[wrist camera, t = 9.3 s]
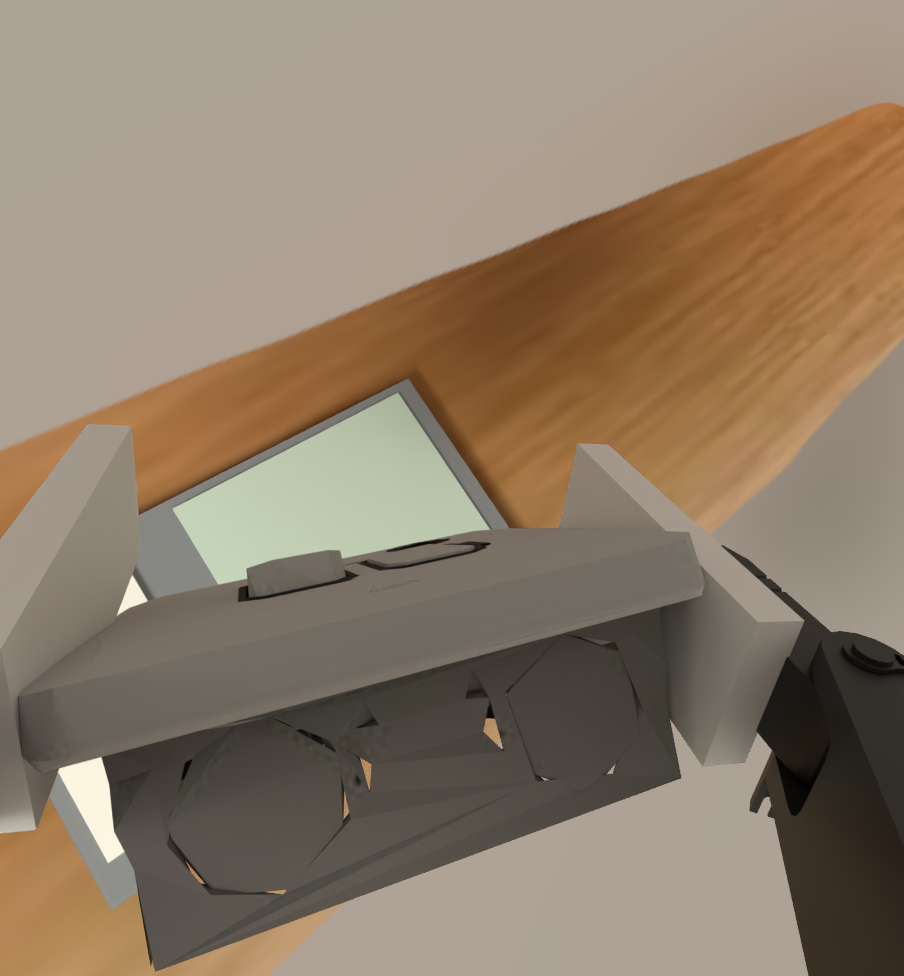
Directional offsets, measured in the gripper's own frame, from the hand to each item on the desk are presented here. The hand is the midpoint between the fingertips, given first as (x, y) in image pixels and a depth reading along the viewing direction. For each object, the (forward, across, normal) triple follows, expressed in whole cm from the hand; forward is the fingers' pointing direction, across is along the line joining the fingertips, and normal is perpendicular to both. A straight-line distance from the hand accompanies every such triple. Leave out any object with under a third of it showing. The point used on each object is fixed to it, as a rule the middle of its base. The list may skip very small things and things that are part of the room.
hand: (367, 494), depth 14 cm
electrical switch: (+1, 0, -5) cm, 5 cm away
